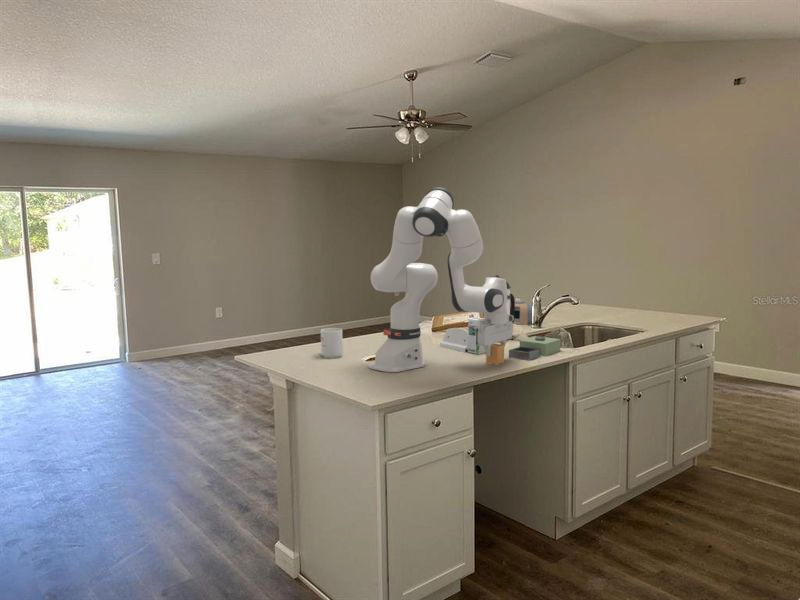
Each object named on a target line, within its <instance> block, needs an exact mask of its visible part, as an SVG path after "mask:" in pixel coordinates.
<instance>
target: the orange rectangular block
mask: <svg viewBox="0 0 800 600" xmlns="http://www.w3.org/2000/svg"><path fill="white" fill-rule="evenodd" d="M490 351H492V353H491V354H492V355H491V356H486V355H485V356H486V357H485V363H486V364H488V363H491V364H490V365H494V364H499V365H501V364H500V363H502V364H504V363H505V347H504V345H501V344H500V343H494V344H491V345H490Z"/></svg>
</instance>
